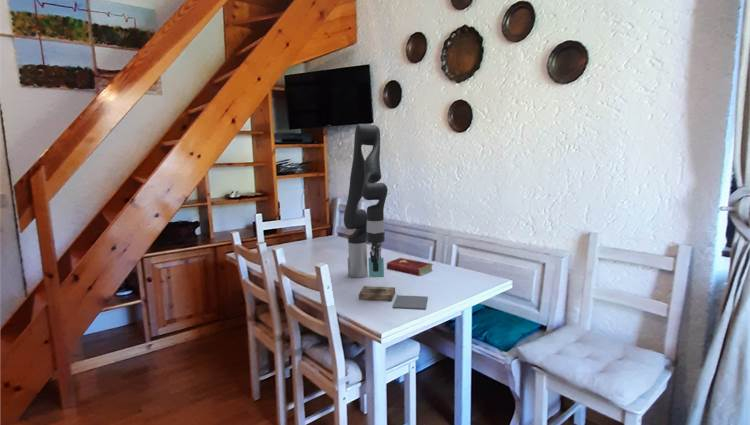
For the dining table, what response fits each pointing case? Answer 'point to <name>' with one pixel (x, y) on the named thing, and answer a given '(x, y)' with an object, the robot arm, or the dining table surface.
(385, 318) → the dining table surface
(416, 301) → the mat
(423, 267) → the hardcover book
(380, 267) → the teal rectangular prism
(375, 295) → the brown wooden frame
